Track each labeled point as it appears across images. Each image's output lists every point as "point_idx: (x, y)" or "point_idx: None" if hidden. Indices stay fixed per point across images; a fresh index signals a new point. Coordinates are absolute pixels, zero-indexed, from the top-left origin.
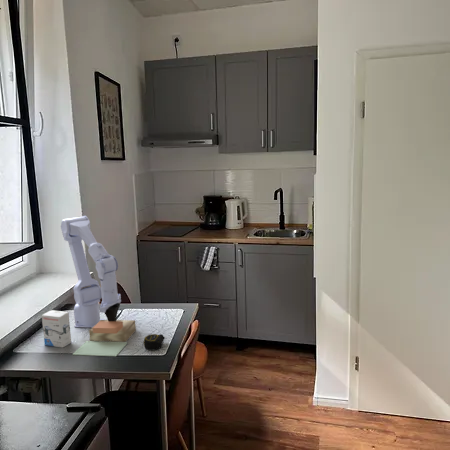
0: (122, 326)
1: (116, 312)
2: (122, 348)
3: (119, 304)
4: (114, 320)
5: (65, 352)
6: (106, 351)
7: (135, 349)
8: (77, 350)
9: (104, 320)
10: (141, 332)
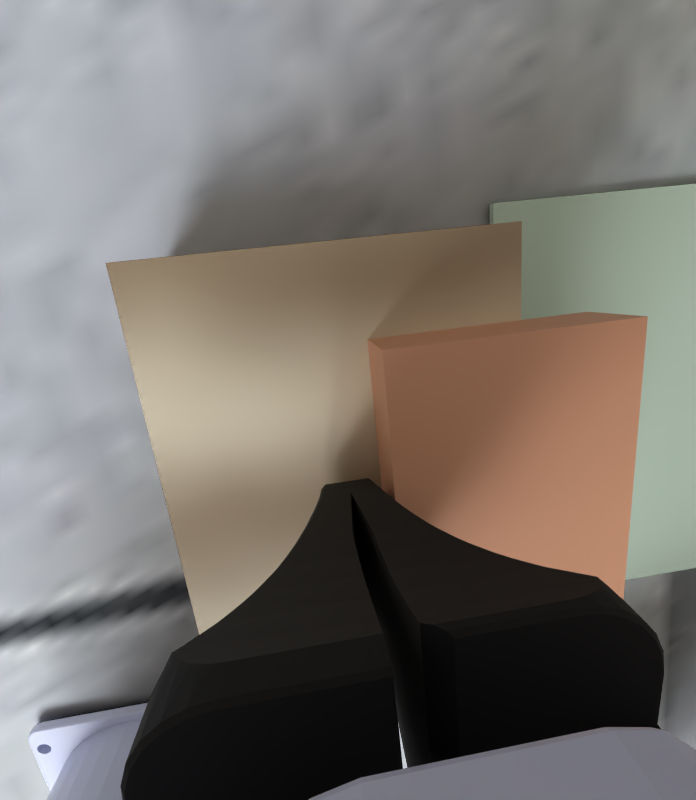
0: (386, 338)
1: (346, 560)
2: (615, 192)
3: (240, 689)
4: (388, 496)
5: (661, 628)
6: (683, 320)
7: (625, 25)
8: (654, 566)
9: None
10: (201, 163)
